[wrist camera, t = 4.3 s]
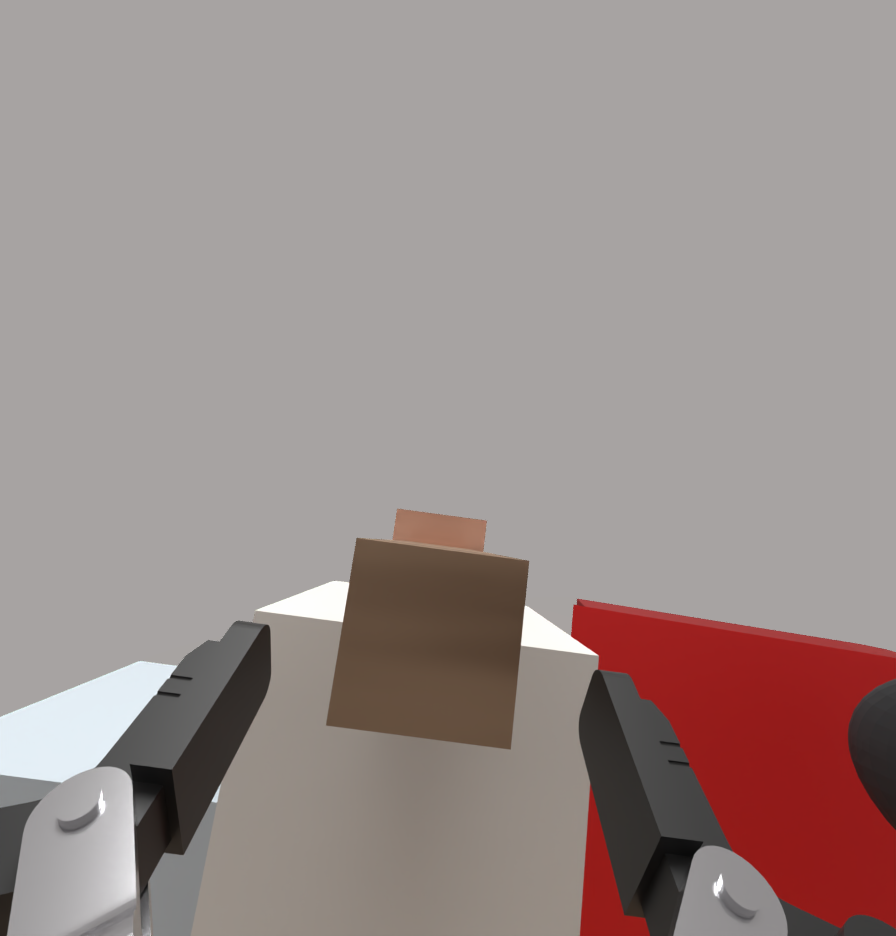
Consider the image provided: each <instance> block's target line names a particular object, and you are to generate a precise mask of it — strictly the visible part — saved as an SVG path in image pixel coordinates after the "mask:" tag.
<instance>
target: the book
mask: <svg viewBox="0 0 896 936" xmlns="http://www.w3.org/2000/svg"><path fill="white" fill-rule="evenodd" d="M571 637H572V638H574V639H575V640H577V641H578V642H580V643H581V644H583V645H584V646H585V647H587V648H588V649H590V650H591V651H593V652H594V653H596V654H597V655H598V656H599V661H598V670H605V671H612V672H620V673H627V674H628V675H630V677H631V678H632V680H633V682H634V685H635V687H636V689H637V691H638V694H639V696H640V698H641V699H645V700H651V701H652V702H653V703H654V704H655V705H656V706H657V708H658V709H659V710H660V711H661V712H662V713H663V714H664V715H665V717H666V718H667V719H668V720H669V721H670V724H671V726H672V728H673V730H674V732H675V734H676V736H677V738H678V740H679V742H680V747H681V748H683V750H684V752H685V754H686V757H687V759H688V761H689V766H690V768H692V769H693V771H694V773H695V775H696V777H697V779H698V781H699V783H700V785H701V787H702V790H703V792H704V794H705V796H706V798H707V800H708V802H709V804H710V806H711V808H712V810H713V812H714V814H715V816H716V818H717V820H718V822H719V825H720V827H721V829H722V831H723V833H724V835H725V837H726V839H727V841H728V843H729V845H730V847H731V849H732V850H733V852H734V853H736V854H737V855H739V856H740V857H742V858H743V859H745V860H746V861H747V862H748V863H750V864H751V865H752V866H753V867H754V868H755V869H756V870H757V871H758V872H759V873H760V874H761V875H762V876H763V877H764V878H765V880H766V881H767V882H768V884H769V885H770V886H771V888H772V889H773V891H774V892H775V894H776V896H777V897H778V898H780V899H782V900H783V901H785V902H787V903H789V904H791V905H793V906H795V907H797V908H799V909H801V910H803V911H805V912H808V913H810V914H812V915H814V916H816V917H818V918H820V919H822V920H824V921H826V922H828V923H830V924H833V925H835V926H837V927H839V928H841V927H842V926H843V925H844V924H845V922H846V921H847V920H848V918H850V917H852V916H854V915H867V916H870V917H874V918H876V919H879V920H881V921H883V922H885V923H887V924H888V925H890V926H892V927H893V928H895V929H896V830H895V829H894V828H893V827H892V826H891V825H890V824H889V822H888V821H887V820H886V819H885V818H884V816H883V815H882V814H881V812H880V811H879V809H878V808H877V807H876V805H875V804H874V803H873V801H872V800H871V798H870V797H869V795H868V793H867V792H866V790H865V788H864V786H863V784H862V783H861V781H860V779H859V777H858V775H857V772H856V770H855V767H854V764H853V762H852V759H851V756H850V751H849V745H848V727H849V722H850V719H851V717H852V714H853V711H854V709H855V708H856V706H857V705H858V704H859V702H860V701H861V700H862V698H863V697H864V696H866V695H867V694H868V693H869V692H871V691H872V690H873V689H875V688H876V687H877V686H879V685H882V684H884V683H886V682H888V681H891V680H893V679H896V652H893V651H890V650H886V649H881V648H876V647H871V646H866V645H861V644H855V643H850V642H843V641H837V640H831V639H825V638H818V637H811V636H806V635H800V634H794V633H787V632H781V631H774V630H769V629H762V628H756V627H750V626H743V625H737V624H731V623H725V622H718V621H712V620H706V619H700V618H694V617H687V616H682V615H675V614H669V613H662V612H657V611H650V610H643V609H638V608H632V607H625V606H619V605H613V604H607V603H601V602H594V601H588V600H582V599H577V605H574V607H573V619H572V632H571ZM580 936H650V934H649V930H648V927H647V923H646V920H645V918H641V917H633V916H626V915H624V912H623V908H622V904H621V900H620V896H619V893H618V889H617V885H616V881H615V877H614V873H613V869H612V865H611V861H610V858H609V854H608V850H607V846H606V842H605V838H604V834H603V830H602V826H601V823H600V819H599V815H598V811H597V807H596V803H595V799H594V795H593V791H592V787H591V784H590V793H589V808H588V822H587V837H586V851H585V866H584V881H583V895H582V910H581V925H580Z"/></svg>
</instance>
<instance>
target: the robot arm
mask: <svg viewBox="0 0 896 936" xmlns="http://www.w3.org/2000/svg"><path fill="white" fill-rule="evenodd" d="M270 678H271V632H270V626H269V625H267V624H259V623H252V622H244V621H236V622H235V623H234V624H233V625H232V626H231V627H230V628H229V630H228V631H227V633H226V634H225V635H224V637H223V638H222V639H221V641H220V642H217V641H210V640H208V641H206V642H205V643H203V644H202V645H201V646H199V647H198V648H196V649H195V650H193V651H192V652H190V653H189V654H188V655H186V656H185V658H184V659H183V660H182V661H181V663H180V664H179V665H178V666H177V667H176V669H175V670H174V671H173V672H172V674H171V676H170V678H169V679H167V680H166V681H165V682H164V684H163V685H162V686H161V687H160V689H159V690H158V692H157V694H156V695H154V696H153V697H152V699H151V700H150V701H149V702H148V703H147V705H146V706H145V707H144V708H143V710H142V711H141V712H140V713H139V715H138V716H137V717H136V718H135V720H134V721H133V722H132V723H131V725H130V726H129V727H128V728H127V730H126V731H125V732H124V733H123V735H122V736H121V737H120V738H119V740H118V741H117V742H116V743H115V744H114V746H113V747H112V748H111V749H110V751H109V752H108V753H107V754H106V756H105V757H104V758H103V759H102V760H101V762H100V763H99V764H98V765H97V766H96V767H95V768H93V769H90V770H86V771H83V772H81V773H79V774H77V775H74V776H73V777H71V778H69V779H67V780H65V781H64V782H62V783H61V784H59V785H58V786H57V787H55V788H54V789H53V790H52V791H50V792H49V793H48V794H47V795H46V796H45V797H44V798H43V799H40V800H36V801H32V802H28V803H23V804H17V805H12V806H7V807H2V808H0V936H153V923H152V906H151V889H150V877H151V875H152V874H153V872H154V870H155V868H156V866H157V865H158V863H159V861H160V859H161V857H162V856H163V854H164V853H169V854H177V855H184V854H185V852H186V850H187V848H188V846H189V844H190V842H191V840H192V838H193V836H194V834H195V832H196V830H197V828H198V827H199V825H200V823H201V821H202V819H203V817H204V815H205V813H206V811H207V809H208V807H209V805H210V803H211V801H212V799H213V798H214V796H215V794H216V792H217V790H218V788H219V786H220V784H221V782H222V780H223V778H224V776H225V774H226V772H227V770H228V768H229V767H230V765H231V763H232V761H233V759H234V757H235V755H236V753H237V751H238V749H239V747H240V745H241V743H242V741H243V739H244V738H245V736H246V734H247V732H248V730H249V728H250V726H251V724H252V722H253V720H254V718H255V716H256V714H257V712H258V710H259V709H260V707H261V705H262V703H263V701H264V699H265V696H266V694H267V691H268V687H269V683H270ZM579 739H580V745H581V749H582V752H583V756H584V760H585V764H586V768H587V772H588V776H589V780H590V784H591V787H592V791H593V795H594V799H595V803H596V807H597V811H598V815H599V819H600V823H601V826H602V830H603V834H604V838H605V842H606V846H607V850H608V854H609V858H610V861H611V865H612V869H613V873H614V877H615V881H616V885H617V889H618V893H619V896H620V900H621V904H622V908H623V912H624V915H626V916H633V917H641V918H645V920H646V923H647V927H648V930H649V934H650V936H896V929H895V928H893V927H892V926H890V925H888V924H887V923H885V922H883V921H881V920H879V919H876V918H874V917H870V916H867V915H854V916H852V917H850V918H848V920H847V921H846V922H845V924H844V925H843V926H842V927H841V928H839V927H837V926H835V925H833V924H830V923H828V922H826V921H824V920H822V919H820V918H818V917H816V916H814V915H812V914H810V913H808V912H805V911H803V910H801V909H799V908H797V907H795V906H793V905H791V904H789V903H787V902H785V901H783V900H782V899H780V898H778V897H777V896H776V894H775V892H774V891H773V889H772V888H771V886H770V885H769V884H768V882H767V881H766V880H765V878H764V877H763V876H762V875H761V874H760V873H759V872H758V871H757V870H756V869H755V868H754V867H753V866H752V865H751V864H750V863H748V862H747V861H746V860H745V859H743V858H742V857H740V856H739V855H737V854H736V853H734V852H733V850H732V849H731V847H730V845H729V843H728V841H727V839H726V837H725V835H724V833H723V831H722V829H721V827H720V825H719V822H718V820H717V818H716V816H715V814H714V812H713V810H712V808H711V806H710V804H709V802H708V800H707V798H706V796H705V794H704V792H703V790H702V787H701V785H700V783H699V781H698V779H697V777H696V775H695V773H694V771H693V769H692V768H690V766H689V761H688V759H687V757H686V754H685V752H684V750H683V748H681V747H680V742H679V740H678V738H677V736H676V734H675V732H674V730H673V728H672V726H671V724H670V721H669V720H668V719H667V718H666V717H665V715H664V714H663V713H662V712H661V711H660V710H659V709H658V708H657V706H656V705H655V704H654V703H653V702H652V701H651V700H645V699H641V698H640V696H639V694H638V691H637V689H636V687H635V685H634V682H633V680H632V678H631V677H630V675H628V674H627V673H620V672H612V671H605V670H595V671H594V673H593V675H592V678H591V681H590V684H589V687H588V690H587V693H586V697H585V700H584V703H583V706H582V709H581V712H580V717H579ZM848 745H849V751H850V756H851V759H852V762H853V764H854V767H855V770H856V772H857V775H858V777H859V779H860V781H861V783H862V784H863V786H864V788H865V790H866V792H867V793H868V795H869V797H870V798H871V800H872V801H873V803H874V804H875V805H876V807H877V808H878V809H879V811H880V812H881V814H882V815H883V816H884V818H885V819H886V820H887V821H888V822H889V824H890V825H891V826H892V827H893V828H894V829H895V830H896V679H893V680H891V681H888V682H886V683H884V684H882V685H879V686H877V687H876V688H875V689H873V690H872V691H871V692H869V693H868V694H867V695H866V696H864V697H863V698H862V700H861V701H860V702H859V704H858V705H857V706H856V708H855V709H854V711H853V714H852V717H851V719H850V722H849V727H848Z"/></svg>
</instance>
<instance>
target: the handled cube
mask: <svg viewBox="0 0 896 936" xmlns="http://www.w3.org/2000/svg"><path fill="white" fill-rule="evenodd" d="M486 523H487V521H485V520H478V519H470V518H462V517H455V516H448V515H440V514H432V513H425V512H418V511H411V510H403V509H397V514H396V521H395V527H394V535H393V540H382V539H381V540H380V539H365V538H357V539H356V546H355V552H354V558H353V564H352V570H351V576H350V582H349V588H348V594H347V600H346V606H345V612H344V618H343V624H342V630H341V636H340V642H339V648H338V655H337V661H336V667H335V673H334V679H333V685H332V691H331V697H330V703H329V709H328V715H327V721H326V726H333V727H341V728H349V729H356V730H364V731H372V732H379V733H387V734H395V735H402V736H410V737H418V738H425V739H433V740H441V741H448V742H456V743H464V744H471V745H479V746H487V747H494V748H502V749H510V750H511V742H512V732H513V721H514V711H515V701H516V691H517V680H518V670H519V660H520V649H521V639H522V629H523V619H524V608H525V598H526V588H527V578H528V566H529V561H527V560H521V559H517V558H511V557H506V556H501V555H496V554H491V553H486V552H483V549H484V540H485V532H486Z"/></svg>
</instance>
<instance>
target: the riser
mask: <svg viewBox="0 0 896 936" xmlns="http://www.w3.org/2000/svg"><path fill="white" fill-rule="evenodd" d="M348 588H349V583H348V582H340V581H332V582H330V583H327V584H324V585H321V586H319V587H316V588H314V589H311V590H309V591H306V592H303V593H300V594H298V595H295V596H292V597H290V598H287V599H284V600H282V601H279V602H276V603H274V604H271V605H269V606H266V607H263V608H261V609H258V610H255V614H254V619H253V623H259V624H267V625H269V626H270V632H271V678H270V683H269V687H268V691H267V694H266V696H265V699H264V701H263V703H262V705H261V707H260V709H259V710H258V712H257V714H256V716H255V718H254V720H253V722H252V724H251V726H250V728H249V730H248V732H247V734H246V736H245V738H244V739H243V741H242V743H241V745H240V747H239V749H238V751H237V753H236V755H235V757H234V759H233V761H232V763H231V765H230V767H229V768H228V770H227V772H226V774H225V776H224V778H223V780H222V782H221V784H220V786H219V788H218V790H217V792H216V794H215V796H214V798H213V799H212V801H211V803H210V805H209V807H208V809H207V811H206V813H205V815H204V817H203V819H202V821H201V823H200V825H199V827H198V828H197V830H196V832H195V834H194V836H193V838H192V840H191V842H190V844H189V846H188V848H187V850H186V852H185V854H184V855H177V854H169V853H164V854H163V856H162V857H161V859H160V861H159V863H158V865H157V866H156V868H155V870H154V872H153V874H152V875H151V877H150V889H151V906H152V923H153V936H580V925H581V910H582V895H583V881H584V866H585V851H586V837H587V822H588V808H589V793H590V780H589V776H588V772H587V768H586V764H585V760H584V756H583V752H582V749H581V745H580V739H579V717H580V712H581V709H582V706H583V703H584V700H585V697H586V693H587V690H588V687H589V684H590V681H591V678H592V675H593V673H594V671H595V670H598V661H599V656H598V655H597V654H596V653H594V652H593V651H591V650H590V649H588V648H587V647H585V646H584V645H583V644H581V643H580V642H578V641H577V640H575V639H574V638H572V637H571V636H569V635H568V634H567V633H565V632H564V631H562V630H561V629H559V628H558V627H556V626H555V625H554V624H552V623H551V622H549V621H548V620H546V619H545V618H543V617H542V616H541V615H539V614H538V613H536V612H535V611H533V610H532V609H530V608H529V607H528V606H525V608H524V619H523V629H522V639H521V649H520V660H519V670H518V680H517V691H516V701H515V711H514V721H513V732H512V742H511V750H510V749H502V748H494V747H487V746H479V745H471V744H464V743H456V742H448V741H441V740H433V739H425V738H418V737H410V736H402V735H395V734H387V733H379V732H372V731H364V730H356V729H349V728H341V727H333V726H326V721H327V715H328V709H329V703H330V697H331V691H332V685H333V679H334V673H335V667H336V661H337V655H338V648H339V642H340V636H341V630H342V624H343V618H344V612H345V606H346V600H347V594H348ZM176 667H177V666H174V665H166V664H157V663H151V662H143V661H139V662H136V663H134V664H131V665H129V666H126V667H124V668H121V669H119V670H116V671H114V672H111V673H109V674H106V675H104V676H101V677H99V678H96V679H94V680H91V681H89V682H86V683H84V684H81V685H79V686H76V687H74V688H71V689H69V690H66V691H64V692H62V693H59V694H56V695H54V696H52V697H49V698H46V699H44V700H41V701H39V702H37V703H34V704H31V705H29V706H26V707H24V708H22V709H19V710H16V711H14V712H11V713H9V714H6V715H4V716H2V717H0V808H2V807H7V806H12V805H17V804H23V803H28V802H32V801H36V800H40V799H43V798H44V797H45V796H46V795H47V794H48V793H49V792H50V791H52V790H53V789H54V788H55V787H57V786H58V785H59V784H61V783H62V782H64V781H65V780H67V779H69V778H71V777H73V776H74V775H77V774H79V773H81V772H83V771H86V770H90V769H93V768H95V767H96V766H97V765H98V764H99V763H100V762H101V760H102V759H103V758H104V757H105V756H106V754H107V753H108V752H109V751H110V749H111V748H112V747H113V746H114V744H115V743H116V742H117V741H118V740H119V738H120V737H121V736H122V735H123V733H124V732H125V731H126V730H127V728H128V727H129V726H130V725H131V723H132V722H133V721H134V720H135V718H136V717H137V716H138V715H139V713H140V712H141V711H142V710H143V708H144V707H145V706H146V705H147V703H148V702H149V701H150V700H151V699H152V697H153V696H154V695H156V694H157V692H158V690H159V689H160V687H161V686H162V685H163V684H164V682H165V681H166V680H167V679H169V678H170V676H171V674H172V672H173V671H174V670H175V669H176Z"/></svg>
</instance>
